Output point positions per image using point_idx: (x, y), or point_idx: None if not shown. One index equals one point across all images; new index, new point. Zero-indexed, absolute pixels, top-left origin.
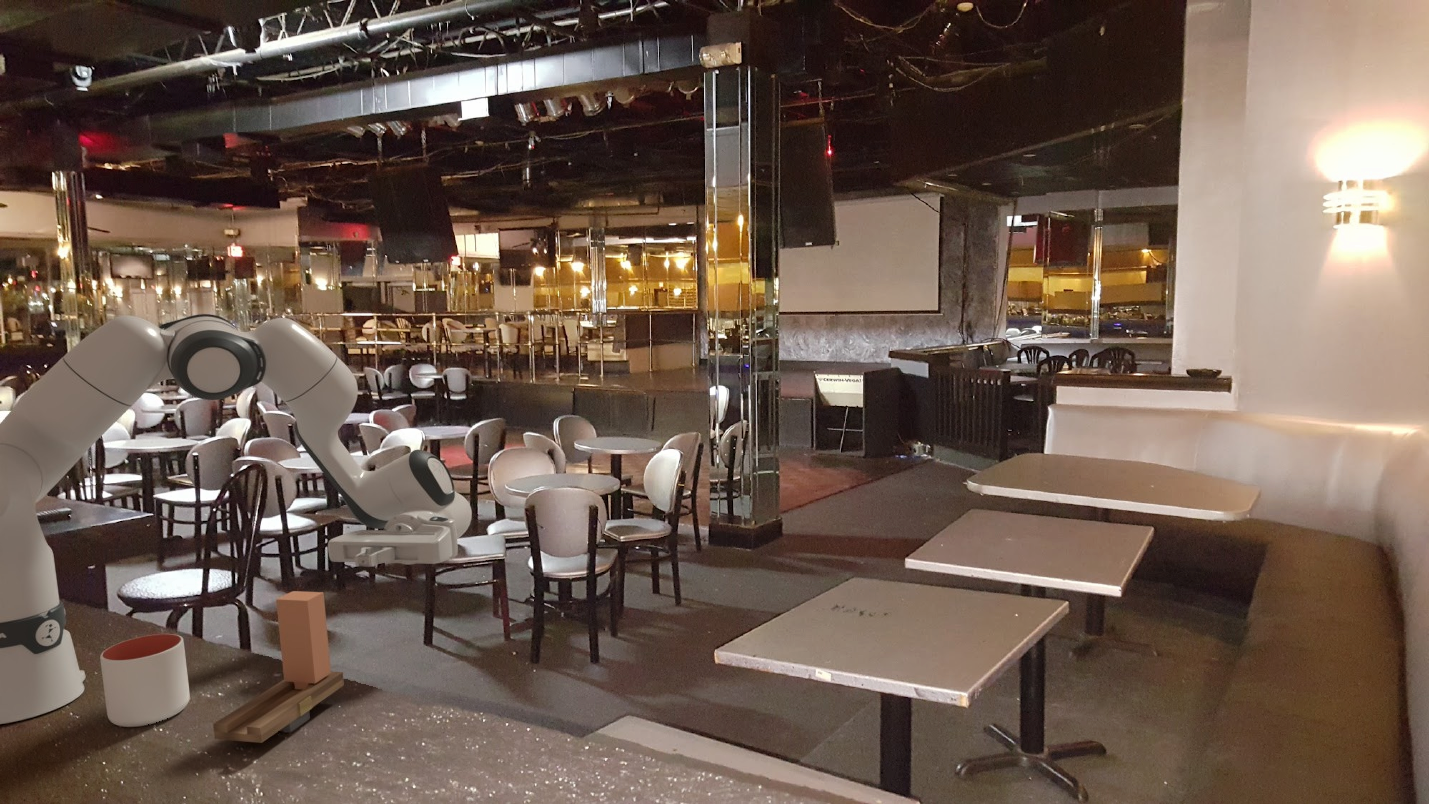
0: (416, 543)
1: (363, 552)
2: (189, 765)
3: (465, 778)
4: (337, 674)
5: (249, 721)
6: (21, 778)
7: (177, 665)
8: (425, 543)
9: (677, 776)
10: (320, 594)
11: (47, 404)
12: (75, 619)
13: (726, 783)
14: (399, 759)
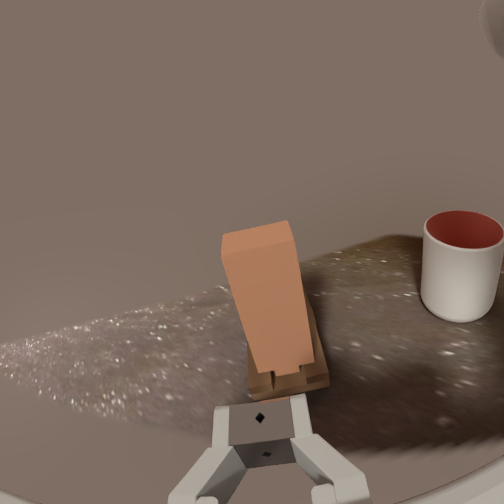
0: (35, 502)
1: (299, 437)
2: (309, 282)
3: (80, 334)
4: (250, 379)
5: None
6: (411, 237)
7: (430, 261)
8: (5, 491)
9: None
10: (221, 252)
11: None
12: None
13: None
14: (130, 339)
